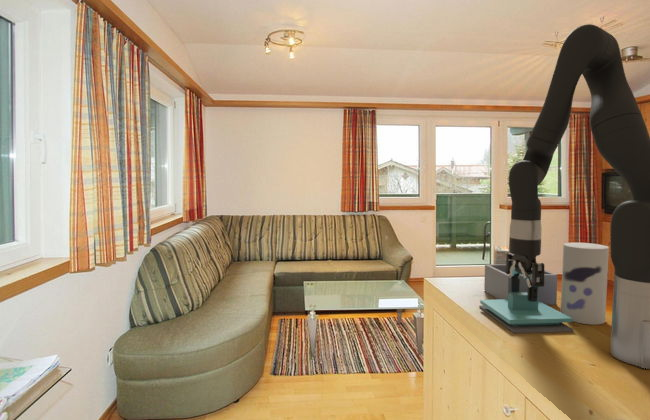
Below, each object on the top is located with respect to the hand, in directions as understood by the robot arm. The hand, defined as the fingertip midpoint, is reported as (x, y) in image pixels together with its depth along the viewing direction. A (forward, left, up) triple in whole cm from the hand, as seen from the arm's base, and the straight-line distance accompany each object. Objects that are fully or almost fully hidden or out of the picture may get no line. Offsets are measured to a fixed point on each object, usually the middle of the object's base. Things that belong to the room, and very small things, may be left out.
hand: (523, 296), depth 104 cm
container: (-1, -16, -6) cm, 17 cm away
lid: (0, 0, -6) cm, 6 cm away
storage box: (+18, -9, -6) cm, 21 cm away
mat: (0, 0, -6) cm, 6 cm away
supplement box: (+33, -11, -6) cm, 35 cm away
